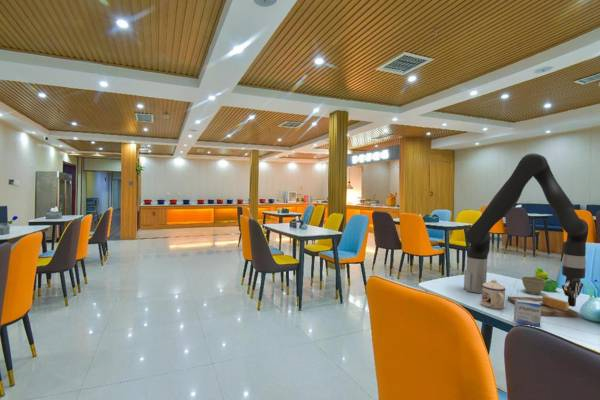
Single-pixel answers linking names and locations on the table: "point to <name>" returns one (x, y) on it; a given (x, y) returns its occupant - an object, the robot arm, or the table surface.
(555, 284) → the fruit basket
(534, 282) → the bowl
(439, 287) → the table surface
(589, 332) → the table surface
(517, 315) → the medicine box
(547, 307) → the sundial board
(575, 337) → the table surface
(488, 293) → the teacup with lid
